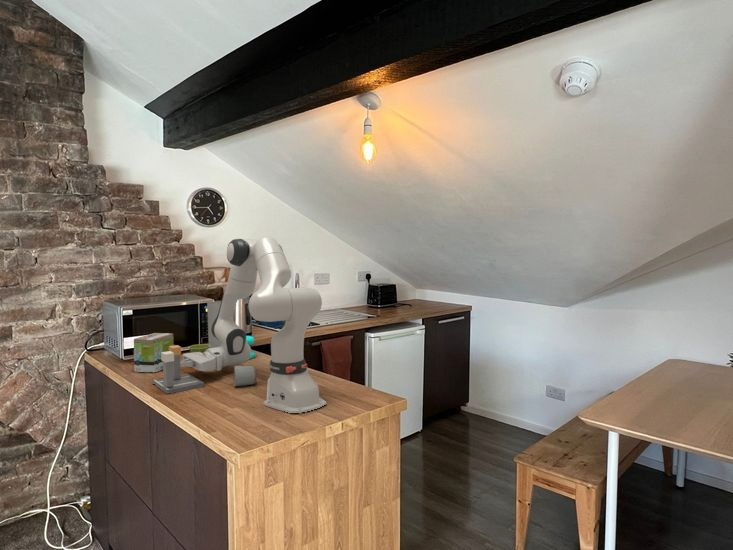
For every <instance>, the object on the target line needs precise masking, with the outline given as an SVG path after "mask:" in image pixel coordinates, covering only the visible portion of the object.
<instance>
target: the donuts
mask: <svg viewBox="0 0 733 550" xmlns="http://www.w3.org/2000/svg"><path fill="white" fill-rule="evenodd" d="M246 341H247V343H248V345H249V346H250V345H253V344H254V342H255V338H254V337H253V335H252V336H251V335H246ZM255 355H256V353H255V351H254V350H252V349H251V356H250V358H249V360H251V359H253V358H254V357H255Z"/></svg>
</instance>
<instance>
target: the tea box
mask: <svg viewBox="0 0 733 550" xmlns="http://www.w3.org/2000/svg"><path fill="white" fill-rule="evenodd" d="M174 341H175V340H174V333H169V332H167V333H163V332H153V333H149V334H146V335H142V336H139V337H137V338H134V339H133V363H134V364H133V368H134V371H137V372H156V373H157V372H160V371H162V370H163V361H162V360H161V352H167V351H169V346H174V345H175V344H174ZM137 372H136V373H137Z"/></svg>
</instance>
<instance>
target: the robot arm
mask: <svg viewBox="0 0 733 550" xmlns="http://www.w3.org/2000/svg"><path fill="white" fill-rule="evenodd" d="M226 259H227V261H228V262H229V265H230V269H229V274H228V279H227V284H226V287H225V288H224V291H223V292H222V293H223V294H222V298H221V300H220V301H221V304H220V308H219V312H218V315H217V317H216V319H215V321H214V322H213V325H212V328H211V331H212V334H213V336H214V337H215V338H217V339H218V340H219V341H220V342H221V343H222V344H221V346H220V347H215V348H209V349H206V351H205V352H204V353H201V352H193V353H190V352H186V353H182V354H181V357H182V359H181V360H180V368H184V367H185V368H190V367H191V368H193V369H195V370H197V371H199V372H210V371H217V372H218V371H221V370H222V368H224V367H235V366H240V365H242V364H244V363H246V362H248V361H249V360H250V359H249V358H250V356H251V350H252V348H251V346H250V345H248V343H247V341H246V336H247V333H246V332H245V331H244V330H243V328H242V327H240V326H239V325H238V324H237V323H235V319H234V320H233V313H235V309H236V306H237V303H238V301H239V300H244V299H246V298H248V297H249V301H248V312H249V314H250V316H251V317H252V319H254V321H257V322H265V323H268V322H269V323H272V322H281V321H282V322H284V321H285V323H284V325H283V327H282V328H281V329H279V330H277V332H275V334H273V336H272V338H271V339H270V354H271V359H270V360H269V370H270V375H269V377H268V379H267V386H266V387H267V388H266V400H264V401H263V406H265V407H268V408H272V409H273V410H279V411H281V412H284V411H285V413H287V412H288V414H290V413H299V414H303V413H302V412H305V413H308V412H307V411H310V412H312V411H311V410H313V411H315V410H314V409H317V408H320V407H322V406H324V405H325V404H326V403H327V401H326V400H324V399H323V398H322V397H321V396H320V390H319V384H318V382H317V381H314V379H313V378H312V377H311V375H310V374H309V372H308V370H307V369H308V363H306V360H305V358H304V345H305V343H304V342H305V335H306V331H307V328H308V327H309V325H310V323H311V321H312V320H313V319H314V318H315V317H316V316H317V315H318V314H319V313H320V311H321V309H322V306H323V301H322V297H321V294H320V292H319V291H318V290H317V289H316V288H309V287H304V286H303V287H289V288H286V286H287V284H288V283H290V281H291V278H292V271H291V269H290V266H289V263H288V260H287V258H286V255H285V252H284V250H283V247H282V246H281V245H280V243H278V241H277V240H276V239H275V238H273V237H270V236H263V237H260V238H258V239H251V238H250V239H249V238H247V239H243V238H235V239H232V240H231V241H230V242H228V244H227V248H226ZM258 276H259V279H260V285H259V288H258V289H257V290H256V291H255V289H256V284H257V283H256V282H257V277H258ZM284 287H285V288H284ZM254 291H255V292H254ZM324 407H325V406H324ZM322 408H323V407H322ZM320 409H321V408H320ZM317 410H318V409H317Z"/></svg>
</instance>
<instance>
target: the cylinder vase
mask: <svg viewBox="0 0 733 550" xmlns="http://www.w3.org/2000/svg"><path fill="white" fill-rule="evenodd" d="M220 304H221V300H216V301H209V302H207V304H206V305H207V307H206V308H207V332H208V333H207V334H208V345H210V347H209V348H215V347H220V346H221V344H222V343H221V342H220V341H219V340H218V339H217V338H215V337H214V336H213V334H212V331H211V328H212V325H213V322H214V321H215V319H216V317H217V315H218V312H219V308H220ZM234 313H235V312H234ZM234 313H233V320H234V321H235V319H234Z"/></svg>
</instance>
